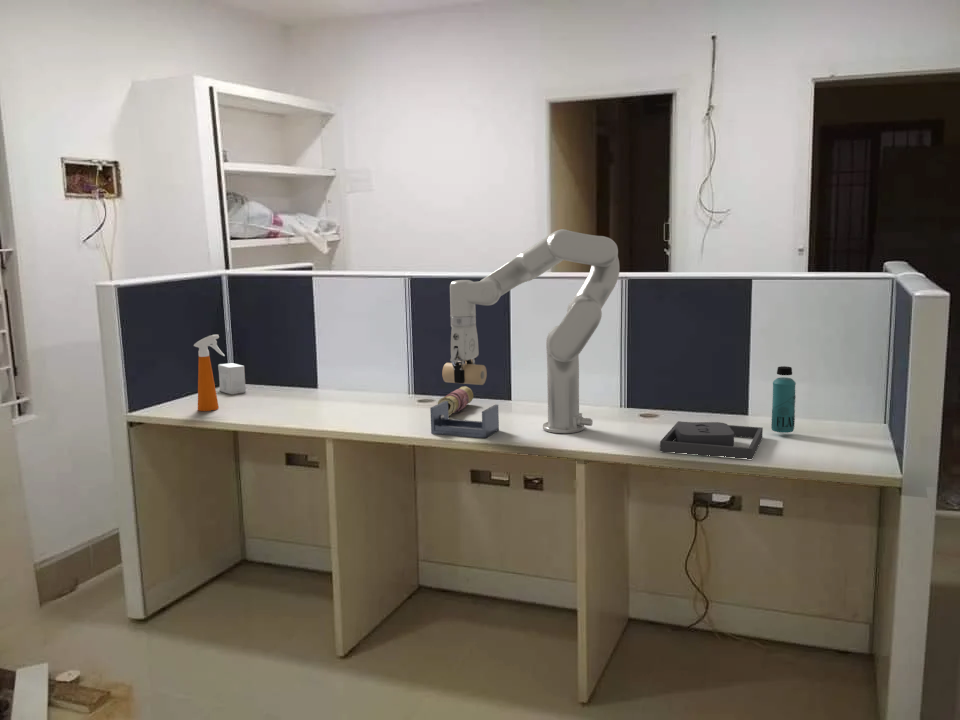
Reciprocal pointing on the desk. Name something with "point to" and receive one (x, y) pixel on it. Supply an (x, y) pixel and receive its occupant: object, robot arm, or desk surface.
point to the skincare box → (232, 378)
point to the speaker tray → (715, 450)
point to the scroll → (458, 399)
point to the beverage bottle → (783, 402)
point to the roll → (466, 373)
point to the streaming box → (704, 433)
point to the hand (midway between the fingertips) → (464, 380)
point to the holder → (464, 423)
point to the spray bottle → (206, 374)
